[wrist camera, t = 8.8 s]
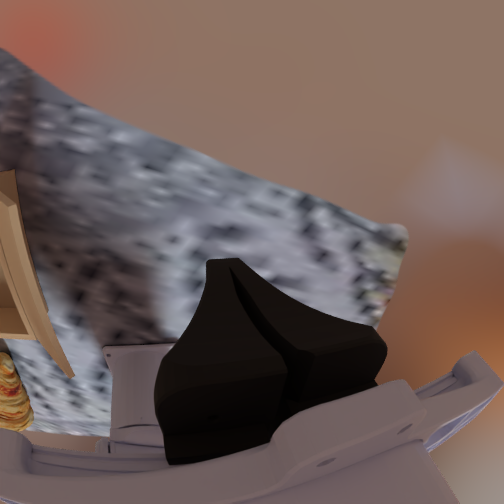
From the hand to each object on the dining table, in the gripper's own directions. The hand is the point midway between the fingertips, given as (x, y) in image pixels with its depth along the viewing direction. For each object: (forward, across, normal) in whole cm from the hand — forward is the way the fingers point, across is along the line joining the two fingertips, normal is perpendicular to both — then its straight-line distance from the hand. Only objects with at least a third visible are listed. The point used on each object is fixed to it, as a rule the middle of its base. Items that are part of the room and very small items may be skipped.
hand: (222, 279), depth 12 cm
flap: (+4, +12, +3) cm, 13 cm away
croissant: (+11, +28, +23) cm, 38 cm away
